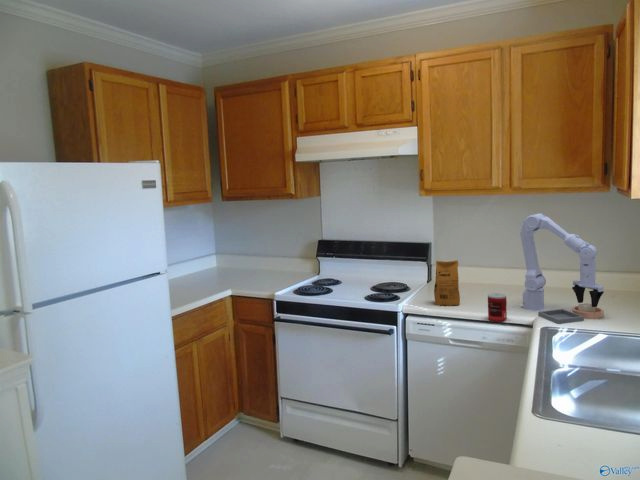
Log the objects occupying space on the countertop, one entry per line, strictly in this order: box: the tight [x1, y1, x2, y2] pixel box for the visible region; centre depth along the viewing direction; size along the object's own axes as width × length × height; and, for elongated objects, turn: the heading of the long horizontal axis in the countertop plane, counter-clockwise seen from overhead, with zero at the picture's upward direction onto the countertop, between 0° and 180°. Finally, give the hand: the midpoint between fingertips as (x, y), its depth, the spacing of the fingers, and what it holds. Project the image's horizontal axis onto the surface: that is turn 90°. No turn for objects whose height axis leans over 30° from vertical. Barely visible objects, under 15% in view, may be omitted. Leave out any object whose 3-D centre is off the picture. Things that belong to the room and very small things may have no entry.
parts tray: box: [537, 308, 585, 325], centre depth 205 cm, size 13×12×2 cm
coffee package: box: [433, 260, 461, 307], centre depth 241 cm, size 10×12×22 cm
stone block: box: [577, 302, 595, 313], centre depth 207 cm, size 4×5×4 cm
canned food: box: [487, 292, 508, 323], centre depth 211 cm, size 8×8×11 cm
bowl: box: [571, 305, 605, 320], centre depth 208 cm, size 12×12×3 cm
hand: (587, 304), depth 207 cm, fingers open, 7 cm apart
